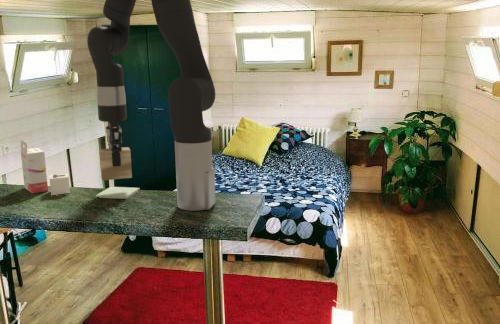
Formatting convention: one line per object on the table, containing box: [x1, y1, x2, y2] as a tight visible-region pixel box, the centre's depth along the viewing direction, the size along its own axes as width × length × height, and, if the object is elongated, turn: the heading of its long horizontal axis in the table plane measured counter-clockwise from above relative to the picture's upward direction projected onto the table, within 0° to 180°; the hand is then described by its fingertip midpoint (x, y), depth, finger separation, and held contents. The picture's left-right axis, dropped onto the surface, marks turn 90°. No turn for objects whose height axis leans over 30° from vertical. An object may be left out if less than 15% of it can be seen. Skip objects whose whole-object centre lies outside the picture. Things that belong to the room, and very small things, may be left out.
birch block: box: [98, 146, 133, 181], centre depth 136 cm, size 4×8×8 cm, turn 111°
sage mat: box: [95, 186, 141, 200], centre depth 138 cm, size 9×9×1 cm
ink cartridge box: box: [20, 139, 49, 194], centre depth 142 cm, size 9×5×15 cm, turn 37°
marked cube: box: [49, 173, 71, 197], centre depth 139 cm, size 5×5×5 cm
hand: (115, 164), depth 136 cm, fingers closed on birch block, 4 cm apart
